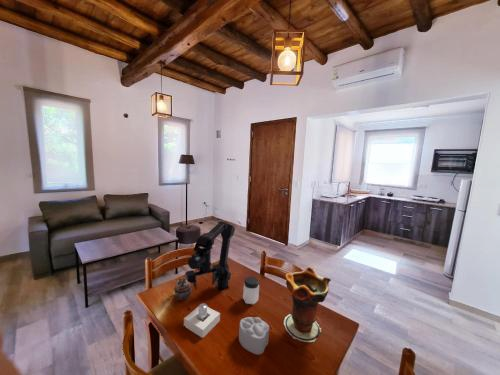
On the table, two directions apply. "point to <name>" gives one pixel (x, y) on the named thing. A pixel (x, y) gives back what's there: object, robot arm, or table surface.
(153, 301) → the table surface
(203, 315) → the peg
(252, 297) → the jar
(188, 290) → the cupcake
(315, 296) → the decorative vase
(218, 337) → the table surface
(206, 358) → the table surface
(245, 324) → the lumpy-topped squat cylinder
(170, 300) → the table surface
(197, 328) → the socket block
